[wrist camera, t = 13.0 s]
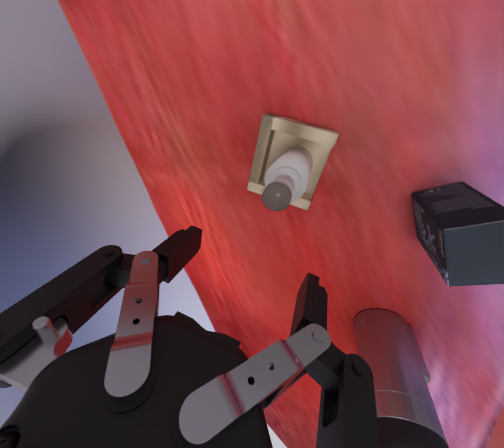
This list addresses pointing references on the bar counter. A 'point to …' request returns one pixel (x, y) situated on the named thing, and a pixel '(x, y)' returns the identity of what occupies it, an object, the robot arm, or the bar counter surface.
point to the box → (461, 233)
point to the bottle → (287, 178)
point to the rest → (282, 138)
